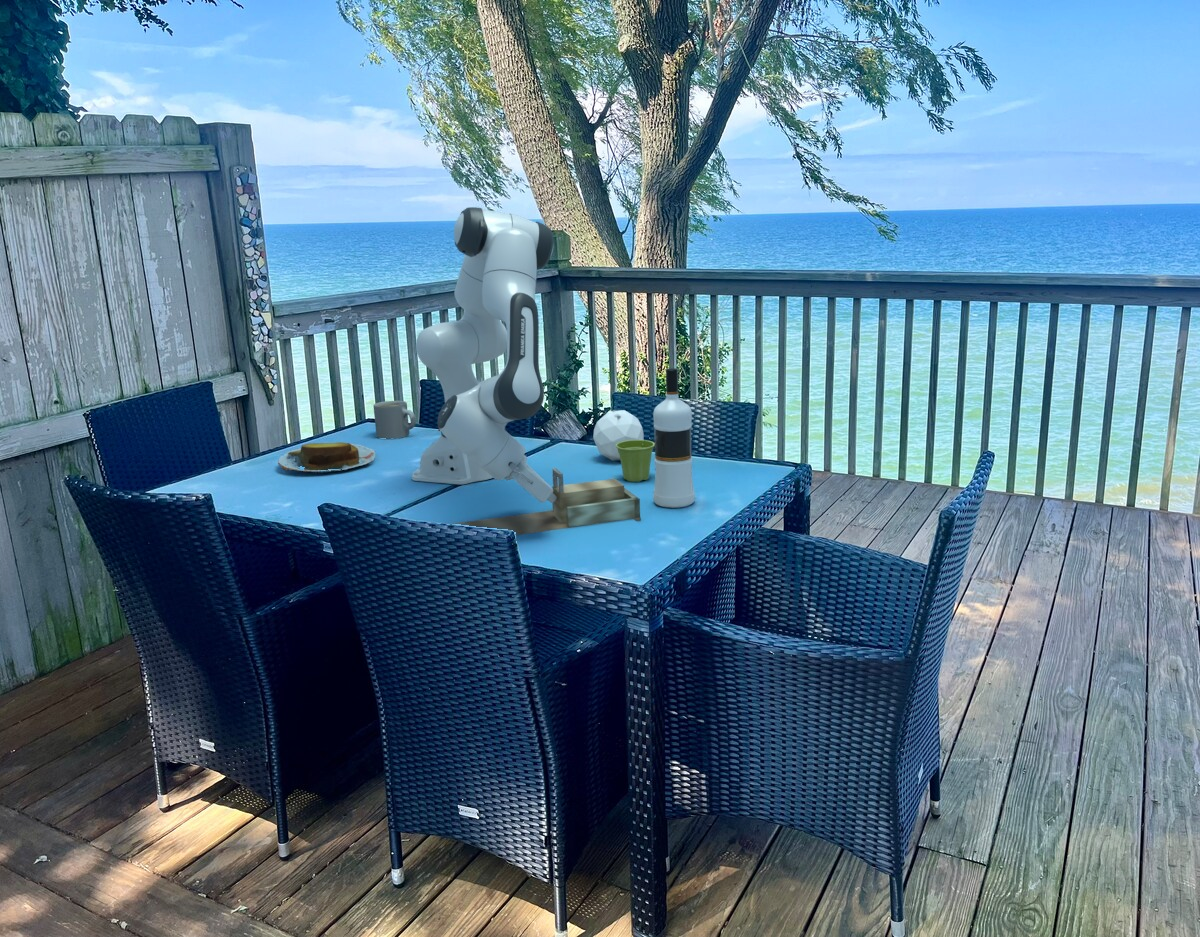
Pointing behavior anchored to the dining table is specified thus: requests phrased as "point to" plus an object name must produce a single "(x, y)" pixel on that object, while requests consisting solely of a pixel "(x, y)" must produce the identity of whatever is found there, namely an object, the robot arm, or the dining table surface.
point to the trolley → (582, 493)
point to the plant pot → (635, 459)
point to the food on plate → (326, 457)
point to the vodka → (673, 448)
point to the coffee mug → (393, 419)
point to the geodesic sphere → (616, 432)
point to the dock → (575, 516)
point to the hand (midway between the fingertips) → (553, 498)
